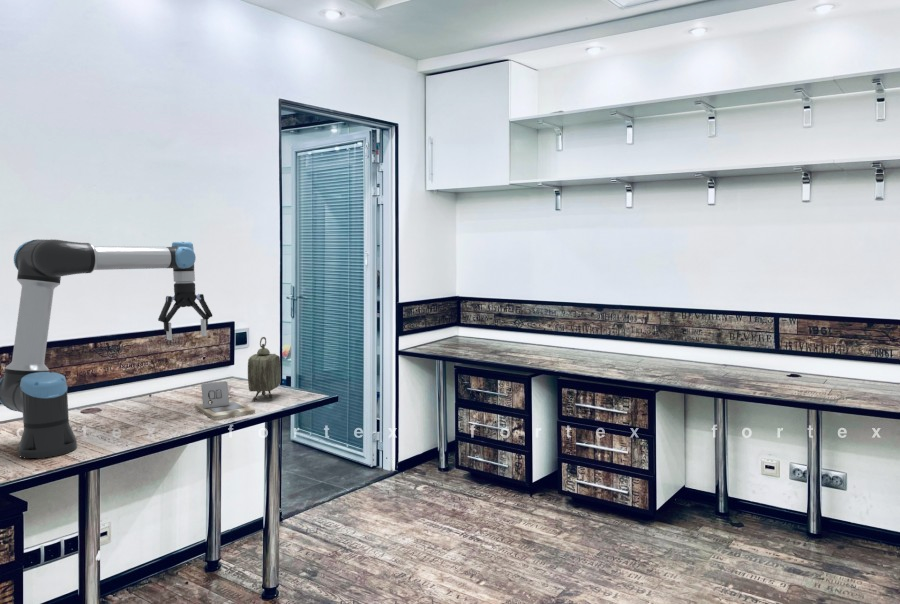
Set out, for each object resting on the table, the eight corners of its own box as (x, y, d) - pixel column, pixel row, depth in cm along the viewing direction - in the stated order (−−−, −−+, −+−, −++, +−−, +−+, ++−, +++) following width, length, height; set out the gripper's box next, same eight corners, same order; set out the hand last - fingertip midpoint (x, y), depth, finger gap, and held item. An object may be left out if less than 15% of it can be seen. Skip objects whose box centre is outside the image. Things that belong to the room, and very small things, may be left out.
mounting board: (213, 420, 230) (213, 415, 229) (195, 408, 247) (195, 404, 247) (255, 413, 239) (255, 409, 238) (234, 402, 256) (234, 398, 256)
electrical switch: (203, 409, 239) (201, 384, 239) (201, 407, 244) (200, 382, 244) (229, 406, 243) (228, 381, 243) (227, 404, 248) (226, 380, 248)
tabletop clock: (260, 394, 270) (258, 334, 268) (282, 394, 270) (280, 334, 268) (248, 402, 256) (246, 339, 254) (271, 402, 255) (269, 339, 253)
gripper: (210, 280, 258) (212, 333, 260) (146, 283, 240) (149, 340, 242) (220, 281, 253) (222, 335, 255) (155, 284, 235) (158, 342, 237)
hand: (186, 337), depth 248 cm, fingers open, 13 cm apart
